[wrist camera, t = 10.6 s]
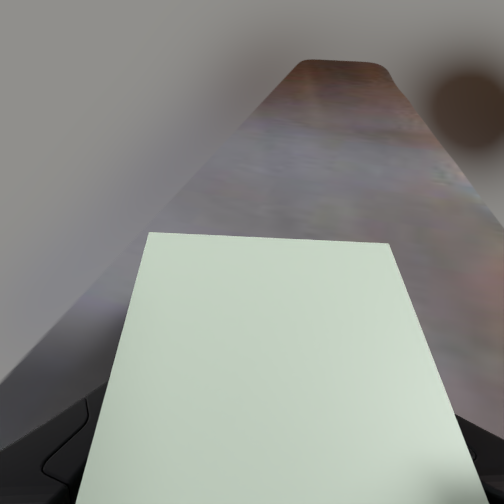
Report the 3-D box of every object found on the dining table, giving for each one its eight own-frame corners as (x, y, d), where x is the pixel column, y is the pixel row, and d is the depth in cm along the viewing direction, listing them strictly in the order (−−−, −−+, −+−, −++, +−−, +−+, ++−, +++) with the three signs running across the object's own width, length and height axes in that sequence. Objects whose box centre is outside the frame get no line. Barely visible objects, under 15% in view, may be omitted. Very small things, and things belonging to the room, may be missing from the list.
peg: (281, 452, 12) (540, 636, 2) (192, 455, 12) (24, 691, 2) (275, 358, 15) (388, 243, 5) (201, 358, 14) (149, 231, 4)
